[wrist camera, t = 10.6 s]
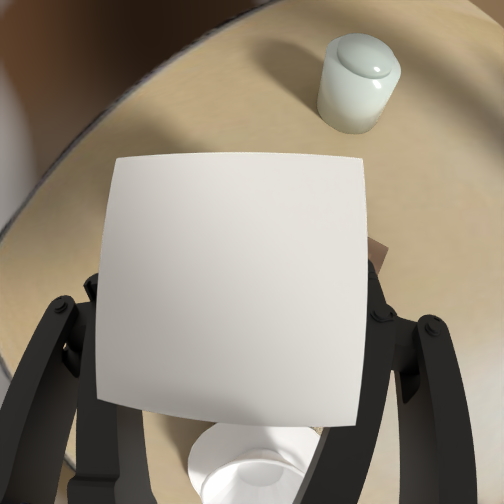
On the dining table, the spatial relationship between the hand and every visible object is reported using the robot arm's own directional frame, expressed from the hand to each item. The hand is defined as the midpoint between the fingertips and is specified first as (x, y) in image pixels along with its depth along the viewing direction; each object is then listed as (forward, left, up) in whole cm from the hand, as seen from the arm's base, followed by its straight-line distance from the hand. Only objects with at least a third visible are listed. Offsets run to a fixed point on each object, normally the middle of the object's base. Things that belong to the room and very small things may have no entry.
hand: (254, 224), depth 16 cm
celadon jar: (-16, +1, -8) cm, 18 cm away
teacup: (+16, +8, -8) cm, 20 cm away
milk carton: (+3, +1, -3) cm, 5 cm away
